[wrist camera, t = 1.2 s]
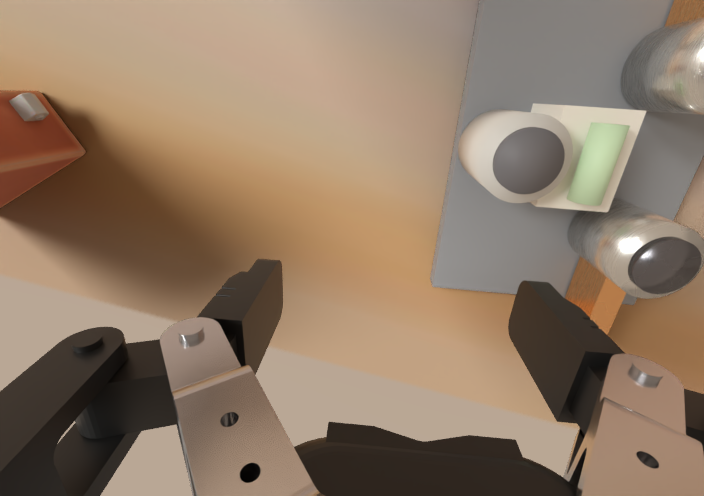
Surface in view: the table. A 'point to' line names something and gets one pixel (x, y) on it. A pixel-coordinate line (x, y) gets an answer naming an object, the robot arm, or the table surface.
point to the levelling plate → (556, 76)
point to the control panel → (31, 143)
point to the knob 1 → (669, 64)
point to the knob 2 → (628, 258)
